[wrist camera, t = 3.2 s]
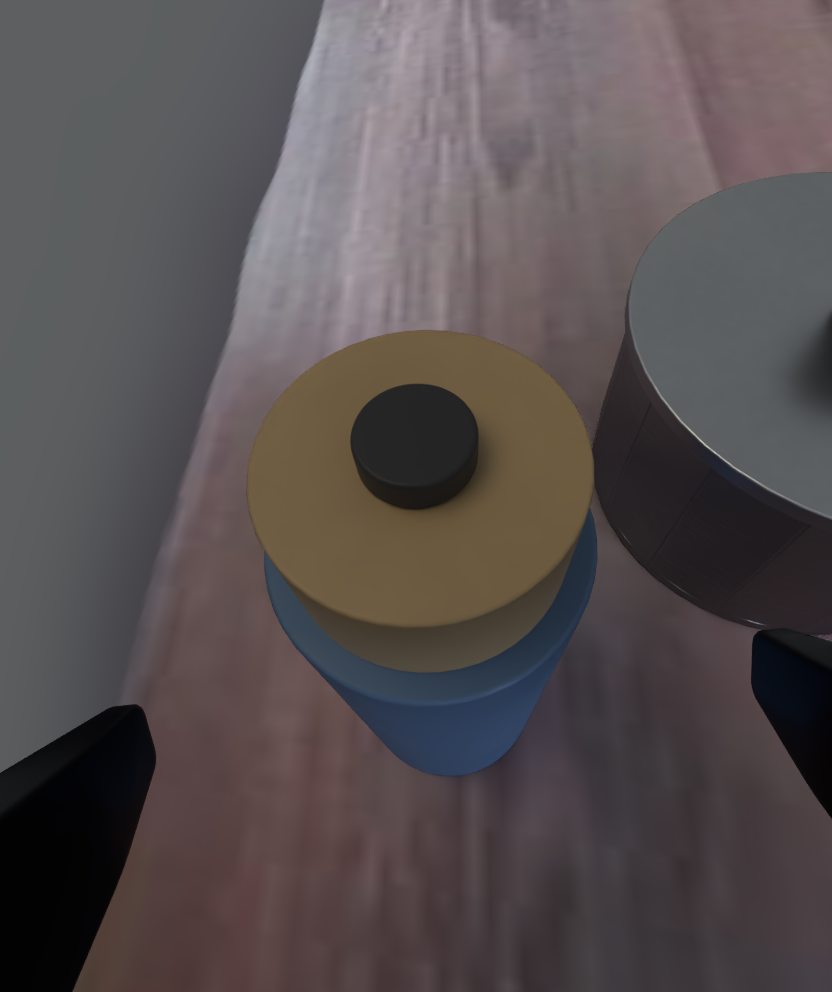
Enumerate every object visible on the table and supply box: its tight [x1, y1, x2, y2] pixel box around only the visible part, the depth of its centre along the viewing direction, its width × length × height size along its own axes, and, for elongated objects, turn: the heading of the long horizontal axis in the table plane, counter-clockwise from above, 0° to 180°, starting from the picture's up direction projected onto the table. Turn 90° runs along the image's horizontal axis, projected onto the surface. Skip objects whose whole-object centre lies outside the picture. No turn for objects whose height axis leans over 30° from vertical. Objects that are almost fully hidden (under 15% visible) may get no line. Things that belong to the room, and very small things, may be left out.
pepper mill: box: [247, 330, 597, 776], centre depth 12 cm, size 5×5×13 cm
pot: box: [592, 335, 832, 635], centre depth 18 cm, size 11×11×6 cm
